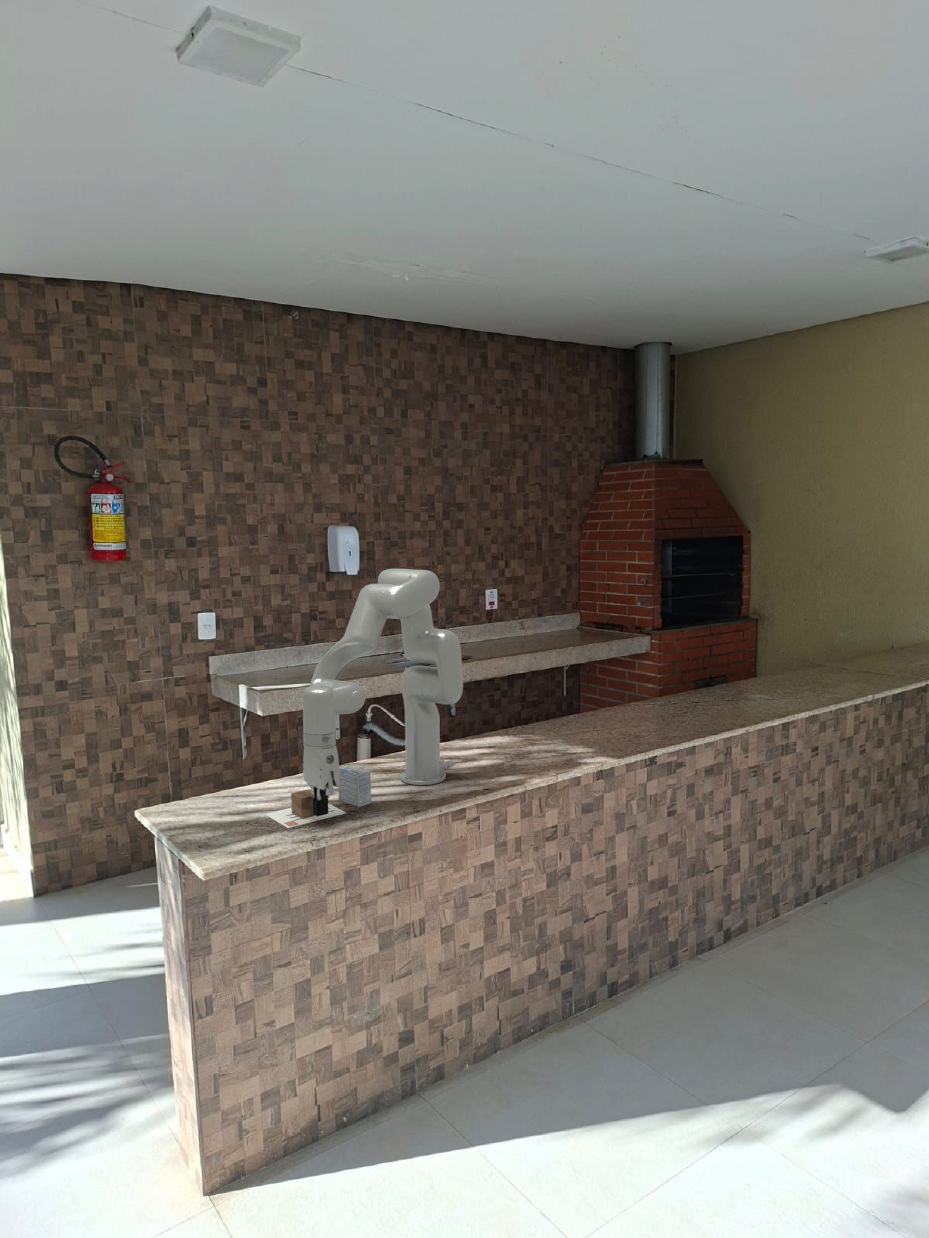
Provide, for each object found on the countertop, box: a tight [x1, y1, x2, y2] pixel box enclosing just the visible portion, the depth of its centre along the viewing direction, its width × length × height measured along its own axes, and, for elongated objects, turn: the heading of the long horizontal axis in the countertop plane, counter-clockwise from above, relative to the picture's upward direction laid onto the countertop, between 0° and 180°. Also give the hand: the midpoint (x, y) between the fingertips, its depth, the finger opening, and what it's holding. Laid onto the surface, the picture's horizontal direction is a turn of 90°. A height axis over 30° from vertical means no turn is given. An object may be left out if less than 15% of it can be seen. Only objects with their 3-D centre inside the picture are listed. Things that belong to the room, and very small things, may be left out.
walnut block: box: [290, 788, 314, 818], centre depth 214 cm, size 5×5×5 cm
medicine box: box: [337, 765, 372, 808], centre depth 222 cm, size 8×4×9 cm, turn 48°
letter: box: [264, 802, 347, 829], centre depth 214 cm, size 16×12×1 cm
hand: (320, 814), depth 207 cm, fingers closed
